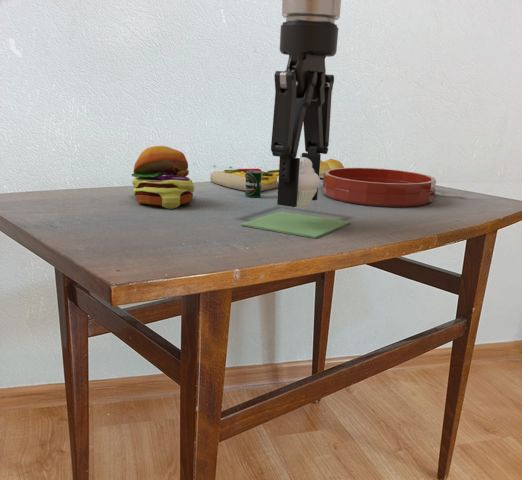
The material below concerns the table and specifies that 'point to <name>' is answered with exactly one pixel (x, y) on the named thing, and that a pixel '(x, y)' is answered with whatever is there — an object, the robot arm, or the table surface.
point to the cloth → (296, 224)
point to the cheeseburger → (162, 178)
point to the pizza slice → (244, 178)
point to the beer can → (253, 184)
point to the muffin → (306, 182)
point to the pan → (378, 187)
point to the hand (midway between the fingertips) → (297, 201)
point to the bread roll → (329, 166)
